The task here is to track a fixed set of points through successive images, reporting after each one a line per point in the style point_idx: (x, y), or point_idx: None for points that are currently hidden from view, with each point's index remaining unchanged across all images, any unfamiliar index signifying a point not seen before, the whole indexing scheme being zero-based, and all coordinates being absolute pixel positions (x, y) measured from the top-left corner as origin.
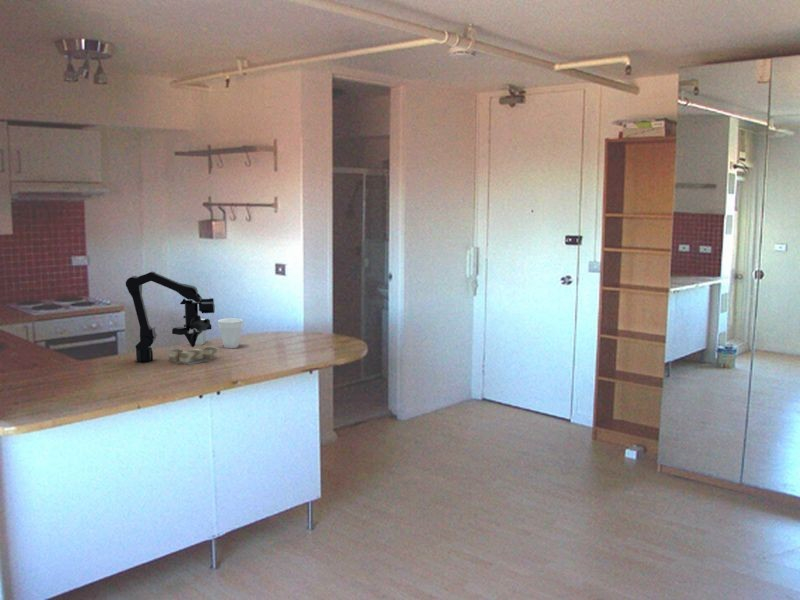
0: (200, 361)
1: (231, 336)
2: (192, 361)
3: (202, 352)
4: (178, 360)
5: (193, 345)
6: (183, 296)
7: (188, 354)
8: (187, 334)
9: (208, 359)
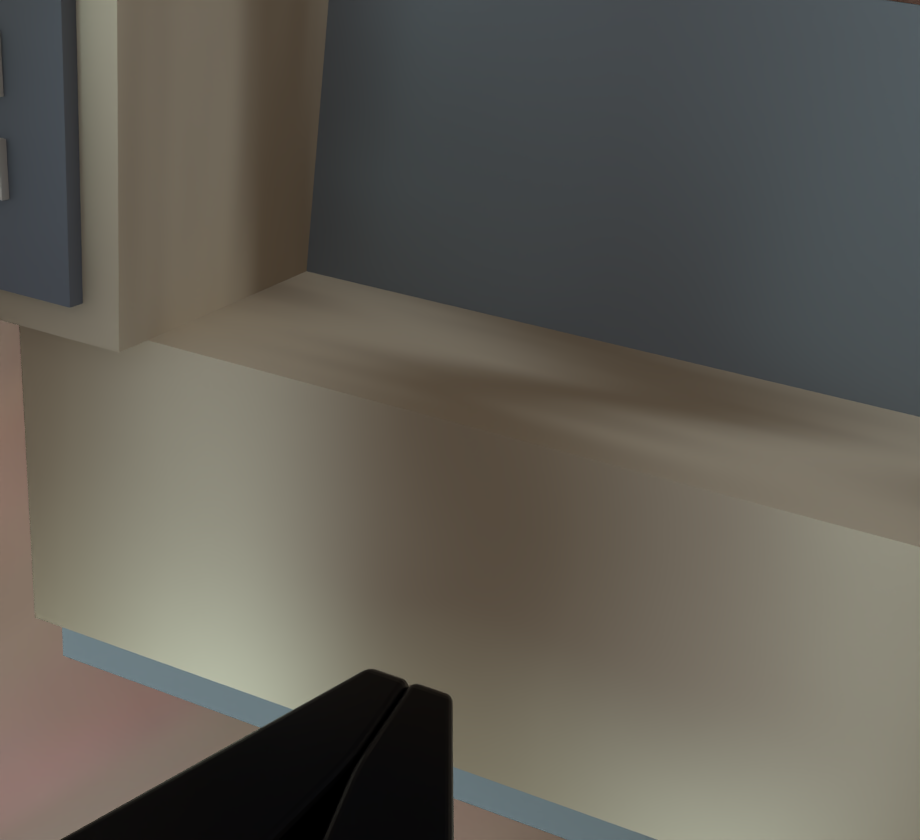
0: (718, 57)
1: None
2: (809, 329)
3: (235, 327)
4: None
5: (406, 719)
6: None
7: None
8: None
9: (349, 12)
